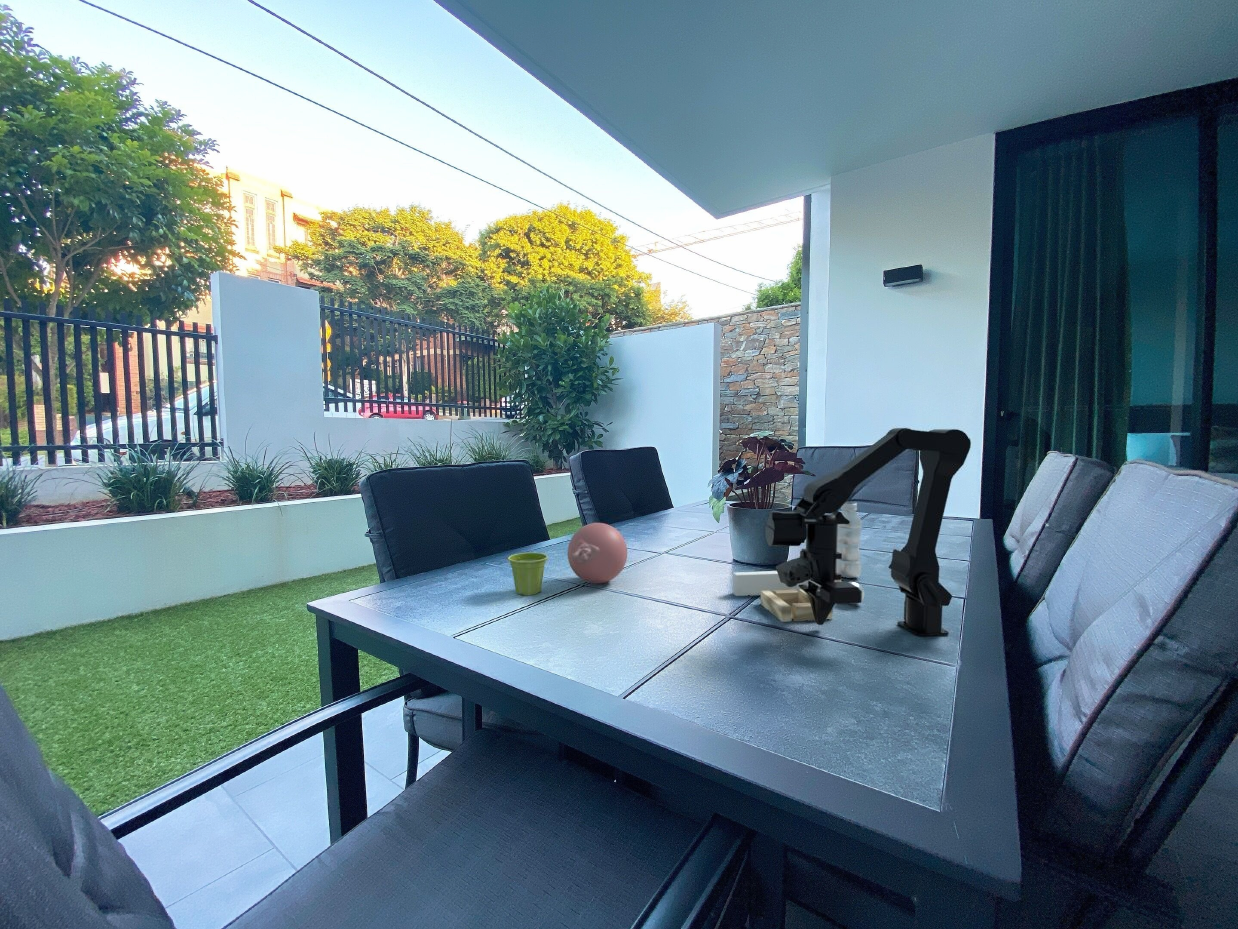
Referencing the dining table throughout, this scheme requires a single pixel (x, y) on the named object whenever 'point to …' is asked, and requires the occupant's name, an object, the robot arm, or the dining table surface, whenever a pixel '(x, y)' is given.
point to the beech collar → (789, 605)
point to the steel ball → (859, 588)
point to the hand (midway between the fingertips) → (819, 624)
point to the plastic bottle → (849, 542)
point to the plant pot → (528, 572)
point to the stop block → (758, 583)
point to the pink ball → (597, 553)
